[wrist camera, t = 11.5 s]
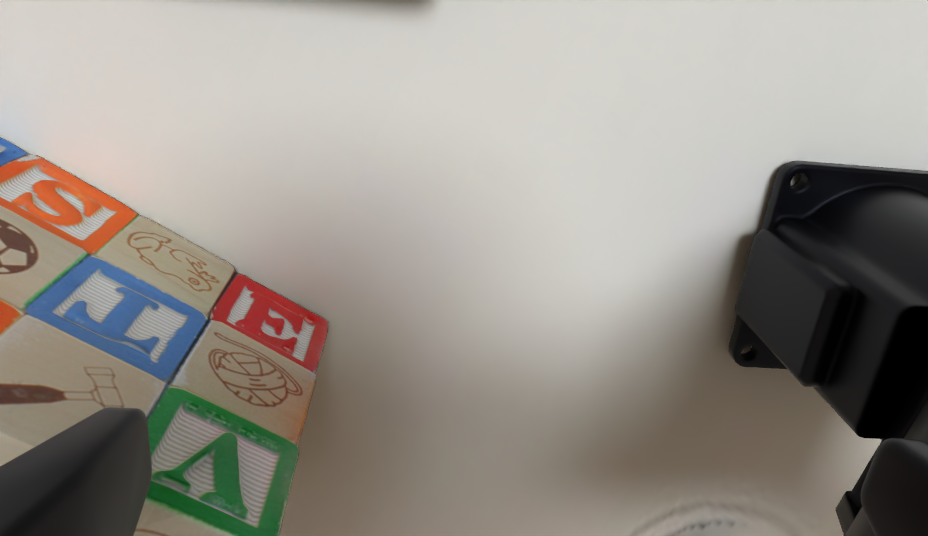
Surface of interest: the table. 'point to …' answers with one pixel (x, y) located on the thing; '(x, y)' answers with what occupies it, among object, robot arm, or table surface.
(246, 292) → the stack of blocks
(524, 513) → the table surface
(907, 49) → the table surface
